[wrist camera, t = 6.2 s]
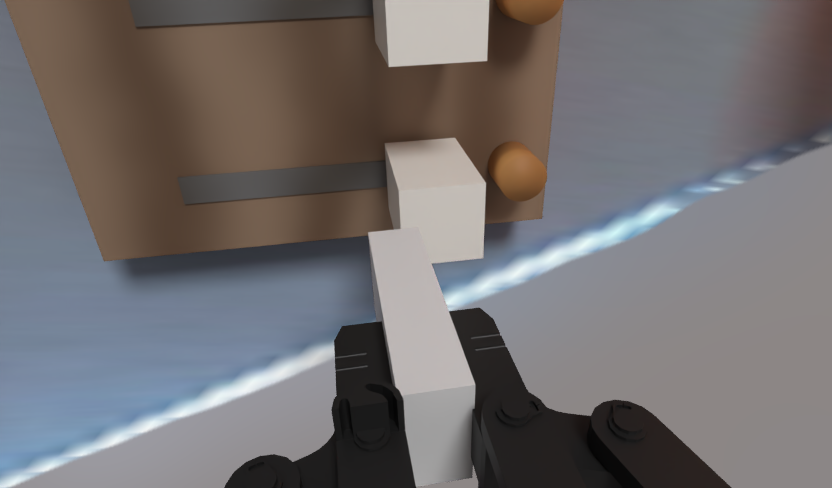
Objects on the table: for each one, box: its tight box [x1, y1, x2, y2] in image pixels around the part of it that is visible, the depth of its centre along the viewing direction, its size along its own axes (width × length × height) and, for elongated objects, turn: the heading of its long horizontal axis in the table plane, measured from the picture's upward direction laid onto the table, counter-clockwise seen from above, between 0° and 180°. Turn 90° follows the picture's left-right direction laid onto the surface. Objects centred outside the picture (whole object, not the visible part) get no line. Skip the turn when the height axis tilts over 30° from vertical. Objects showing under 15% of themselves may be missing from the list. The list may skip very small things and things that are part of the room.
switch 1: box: [373, 0, 489, 67], centre depth 17 cm, size 3×3×5 cm
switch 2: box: [385, 138, 486, 264], centre depth 21 cm, size 3×3×5 cm
